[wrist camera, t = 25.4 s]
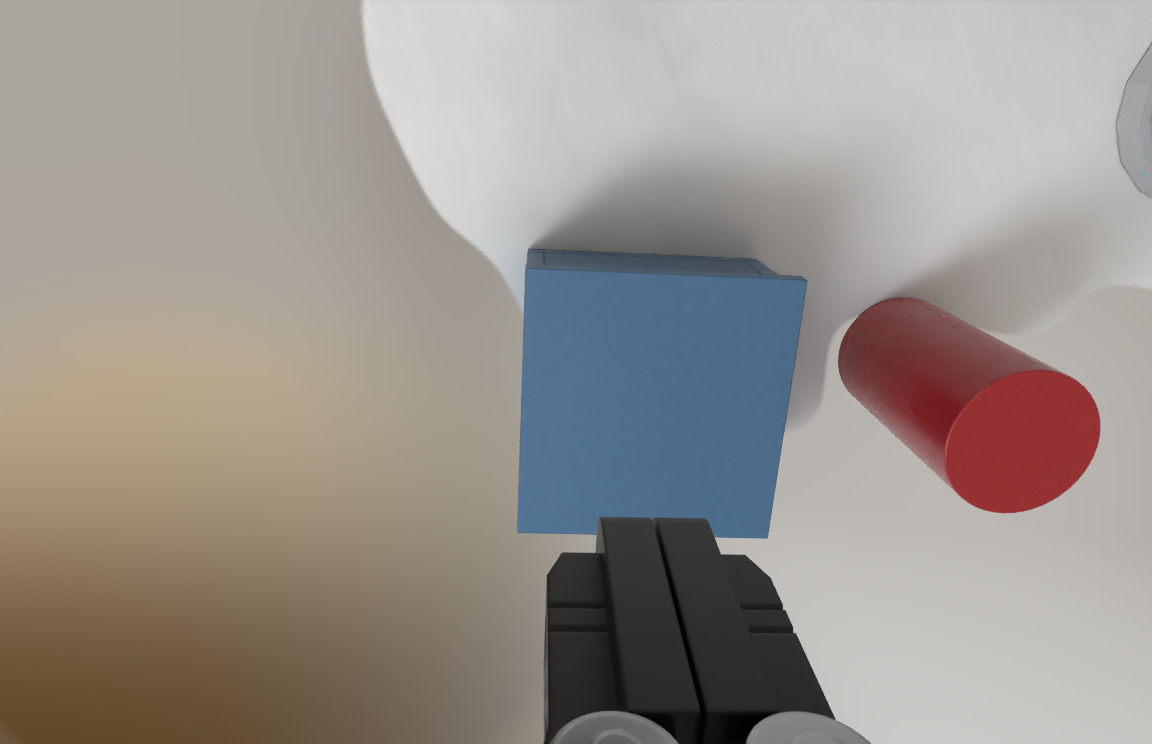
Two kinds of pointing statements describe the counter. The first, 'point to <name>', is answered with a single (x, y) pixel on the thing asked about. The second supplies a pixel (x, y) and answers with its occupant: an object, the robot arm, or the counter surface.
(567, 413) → the lid
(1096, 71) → the counter surface
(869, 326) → the can
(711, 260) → the blue open square box
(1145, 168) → the french press
